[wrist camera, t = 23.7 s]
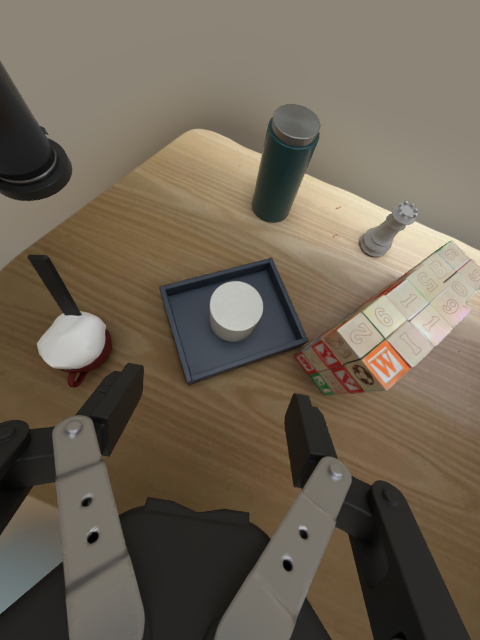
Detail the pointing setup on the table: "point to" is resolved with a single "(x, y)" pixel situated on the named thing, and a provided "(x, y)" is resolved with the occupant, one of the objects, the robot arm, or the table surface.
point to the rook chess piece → (388, 229)
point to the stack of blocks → (394, 326)
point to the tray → (215, 353)
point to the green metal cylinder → (284, 160)
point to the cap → (235, 311)
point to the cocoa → (70, 330)
